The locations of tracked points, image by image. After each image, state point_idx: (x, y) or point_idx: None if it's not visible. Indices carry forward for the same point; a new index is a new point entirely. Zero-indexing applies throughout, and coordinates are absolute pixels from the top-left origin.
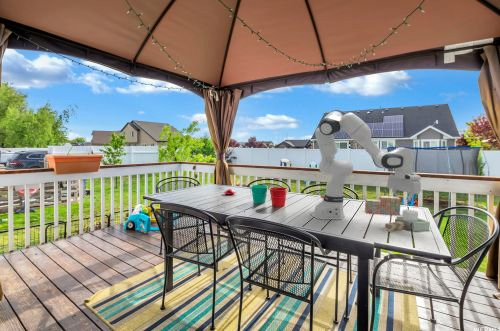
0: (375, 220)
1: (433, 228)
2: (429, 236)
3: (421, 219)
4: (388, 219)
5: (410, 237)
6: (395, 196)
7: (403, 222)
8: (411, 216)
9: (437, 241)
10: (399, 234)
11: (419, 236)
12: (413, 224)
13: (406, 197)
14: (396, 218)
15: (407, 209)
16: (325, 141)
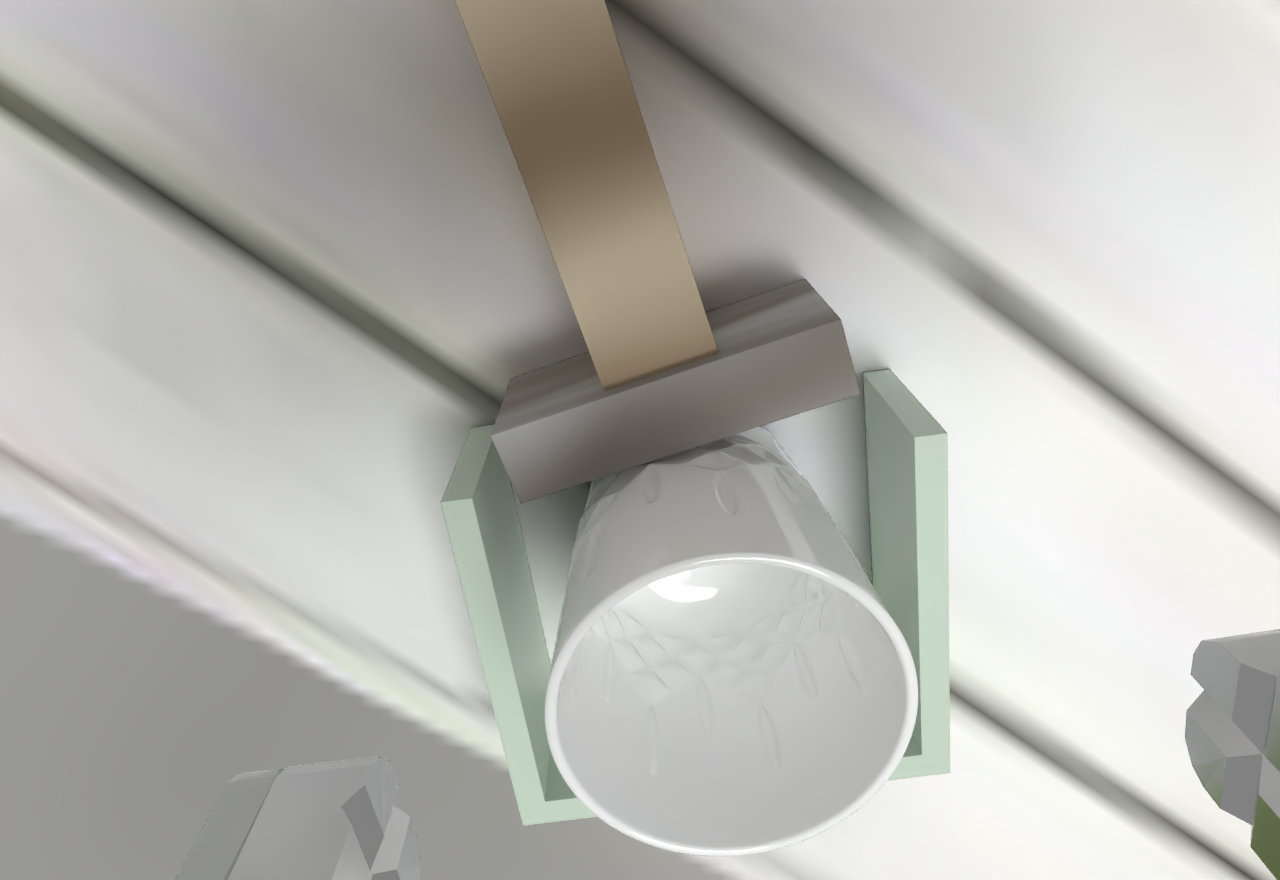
0: (1244, 73)
1: None
2: (243, 526)
3: None
4: (1211, 423)
5: (138, 146)
6: (1214, 664)
7: (624, 376)
8: (571, 590)
9: (15, 489)
10: (293, 24)
11: (221, 360)
12: (458, 483)
13: (345, 856)
14: (927, 416)
15: (898, 749)
16: None
